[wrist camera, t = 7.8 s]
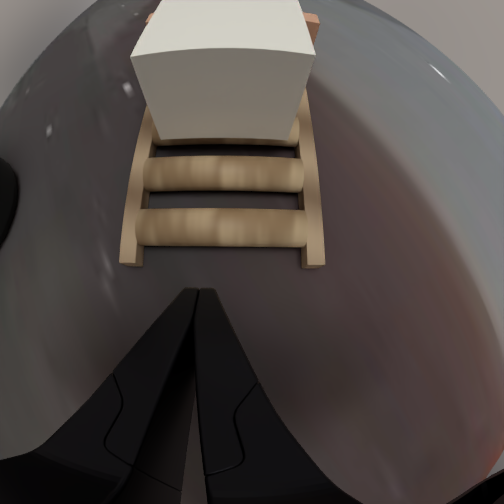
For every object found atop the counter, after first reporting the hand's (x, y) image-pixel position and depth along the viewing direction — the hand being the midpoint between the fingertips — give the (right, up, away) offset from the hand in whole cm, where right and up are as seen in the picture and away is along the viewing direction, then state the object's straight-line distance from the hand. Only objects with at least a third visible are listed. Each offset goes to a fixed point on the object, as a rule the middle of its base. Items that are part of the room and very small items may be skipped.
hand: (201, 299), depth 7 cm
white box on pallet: (-1, +15, +11) cm, 19 cm away
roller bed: (-1, +10, +13) cm, 17 cm away
